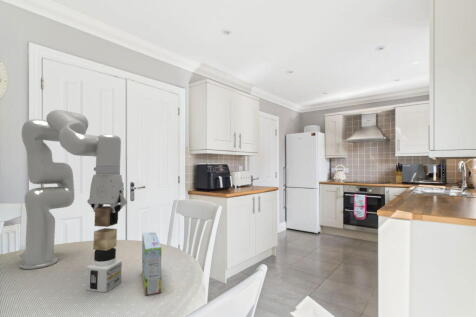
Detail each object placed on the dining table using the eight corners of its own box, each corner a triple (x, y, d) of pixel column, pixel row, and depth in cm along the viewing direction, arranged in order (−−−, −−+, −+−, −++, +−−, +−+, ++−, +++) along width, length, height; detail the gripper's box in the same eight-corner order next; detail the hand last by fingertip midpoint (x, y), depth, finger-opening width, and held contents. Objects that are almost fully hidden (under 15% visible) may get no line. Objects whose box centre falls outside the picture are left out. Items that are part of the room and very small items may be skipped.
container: (106, 293, 82) (107, 252, 82) (85, 290, 83) (86, 250, 84) (121, 282, 89) (122, 245, 90) (102, 280, 91) (103, 243, 91)
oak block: (93, 249, 85) (93, 231, 85) (103, 245, 90) (104, 228, 90) (106, 250, 84) (107, 232, 84) (116, 246, 89) (116, 228, 89)
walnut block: (94, 226, 85) (95, 208, 85) (104, 222, 90) (105, 205, 90) (107, 226, 84) (108, 208, 84) (117, 223, 89) (118, 206, 89)
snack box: (140, 271, 99) (141, 232, 100) (155, 269, 102) (156, 231, 102) (143, 296, 80) (144, 248, 81) (162, 293, 82) (163, 246, 83)
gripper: (78, 170, 86) (76, 224, 85) (123, 171, 83) (121, 227, 82) (94, 170, 93) (92, 220, 92) (136, 171, 90) (135, 222, 89)
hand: (106, 223), depth 87 cm, fingers closed on walnut block, 5 cm apart
